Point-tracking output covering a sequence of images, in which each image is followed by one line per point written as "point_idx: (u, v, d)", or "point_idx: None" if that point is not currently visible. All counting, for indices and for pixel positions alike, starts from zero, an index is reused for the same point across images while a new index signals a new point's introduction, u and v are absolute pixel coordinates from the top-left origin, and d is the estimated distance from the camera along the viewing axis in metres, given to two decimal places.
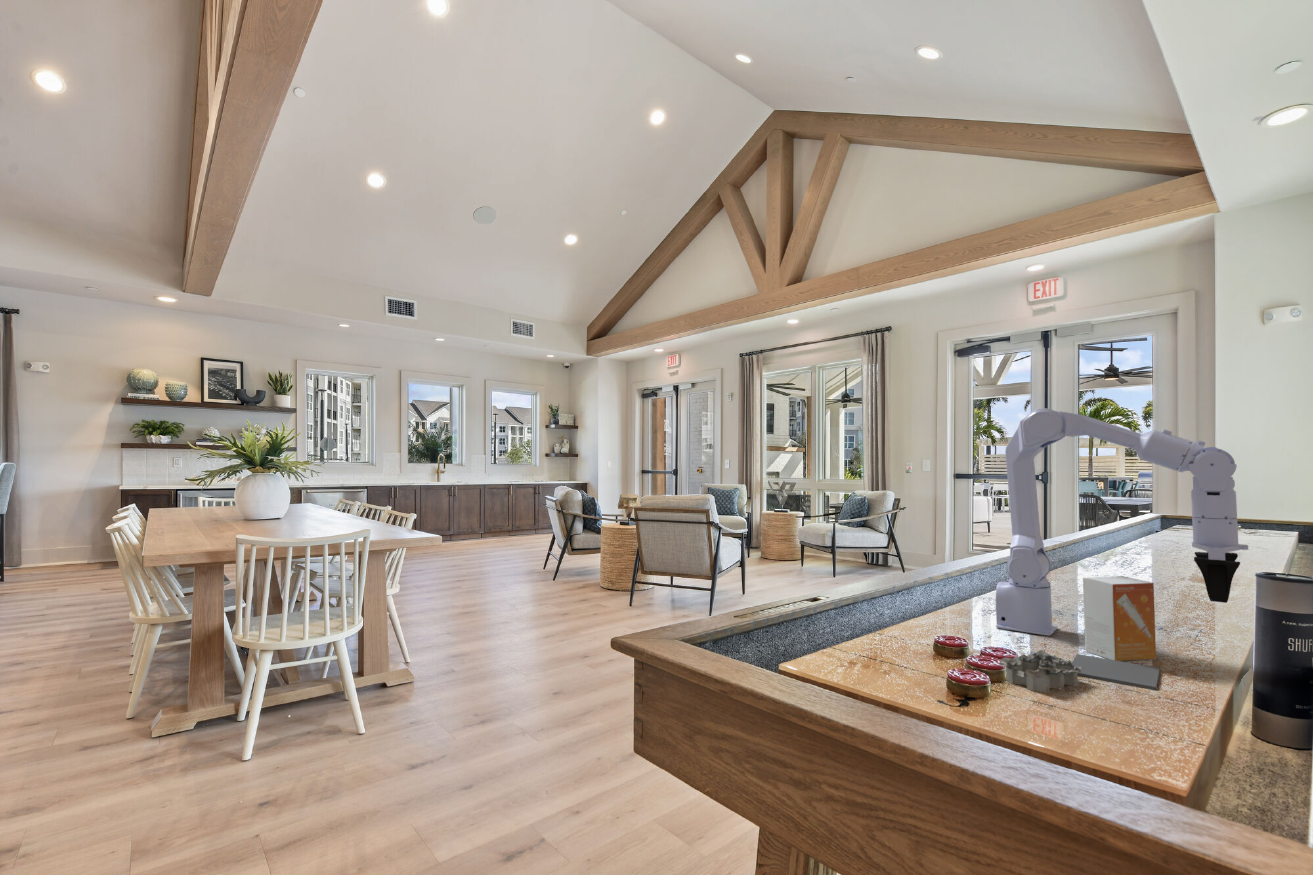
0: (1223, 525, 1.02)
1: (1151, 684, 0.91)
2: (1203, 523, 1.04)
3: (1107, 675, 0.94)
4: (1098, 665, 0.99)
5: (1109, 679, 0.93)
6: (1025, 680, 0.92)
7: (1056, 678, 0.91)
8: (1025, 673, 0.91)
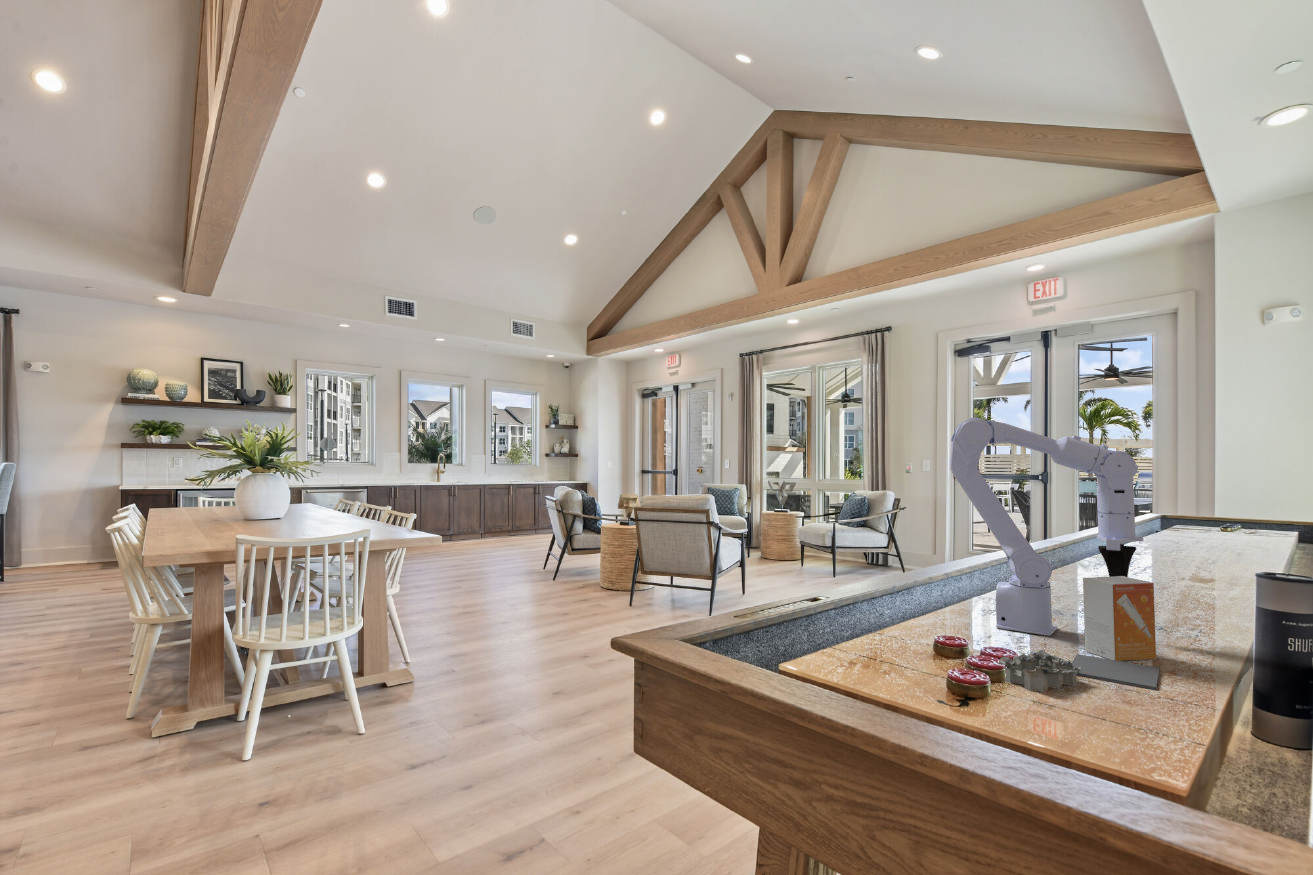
0: (1121, 519, 1.15)
1: (1151, 684, 0.91)
2: (1105, 518, 1.17)
3: (1107, 675, 0.94)
4: (1098, 665, 0.99)
5: (1109, 679, 0.93)
6: (1023, 679, 0.92)
7: (1054, 678, 0.91)
8: (1023, 672, 0.91)
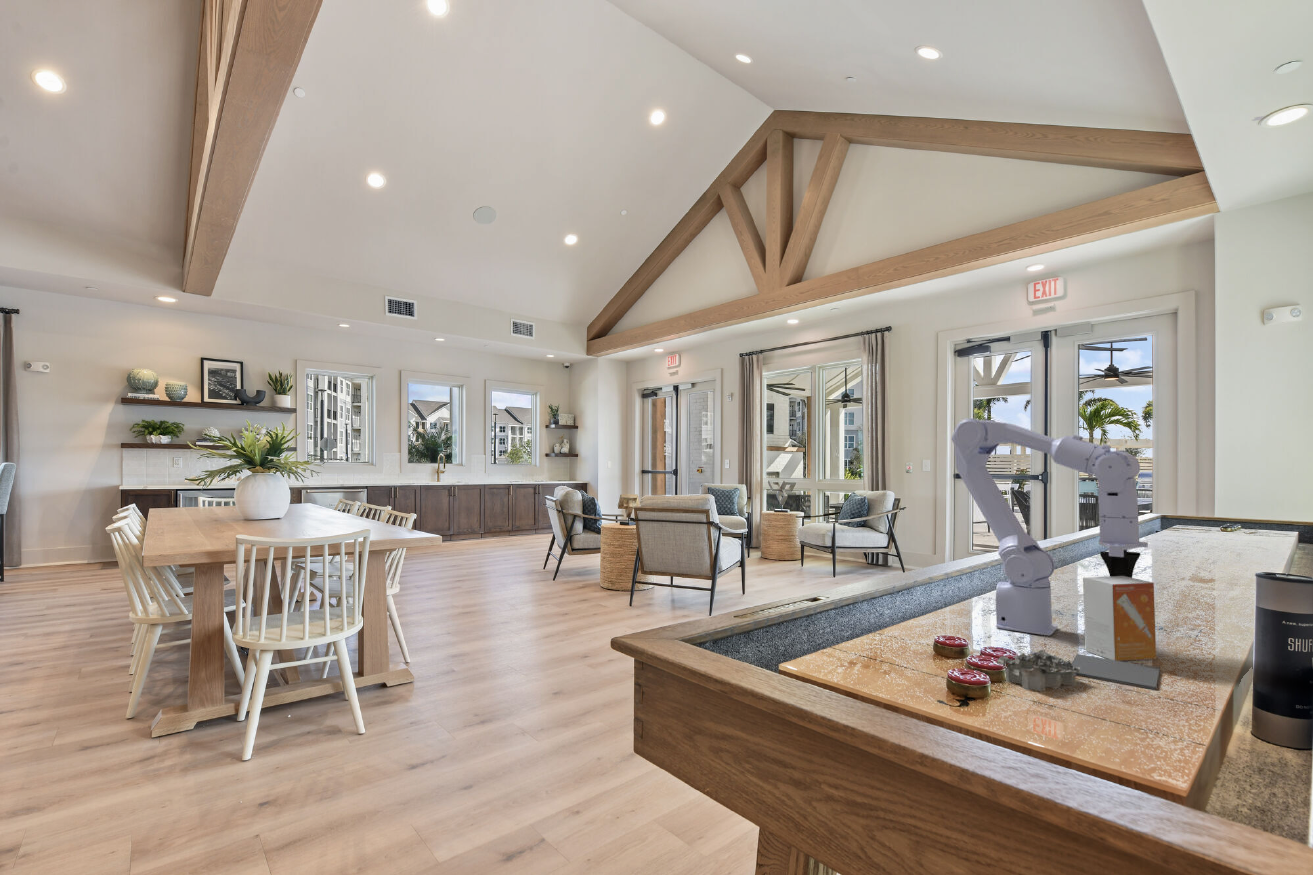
0: (1124, 524, 1.08)
1: (1151, 684, 0.91)
2: (1107, 522, 1.10)
3: (1107, 675, 0.94)
4: (1098, 665, 0.99)
5: (1109, 679, 0.93)
6: (1021, 678, 0.92)
7: (1052, 678, 0.91)
8: (1020, 672, 0.91)
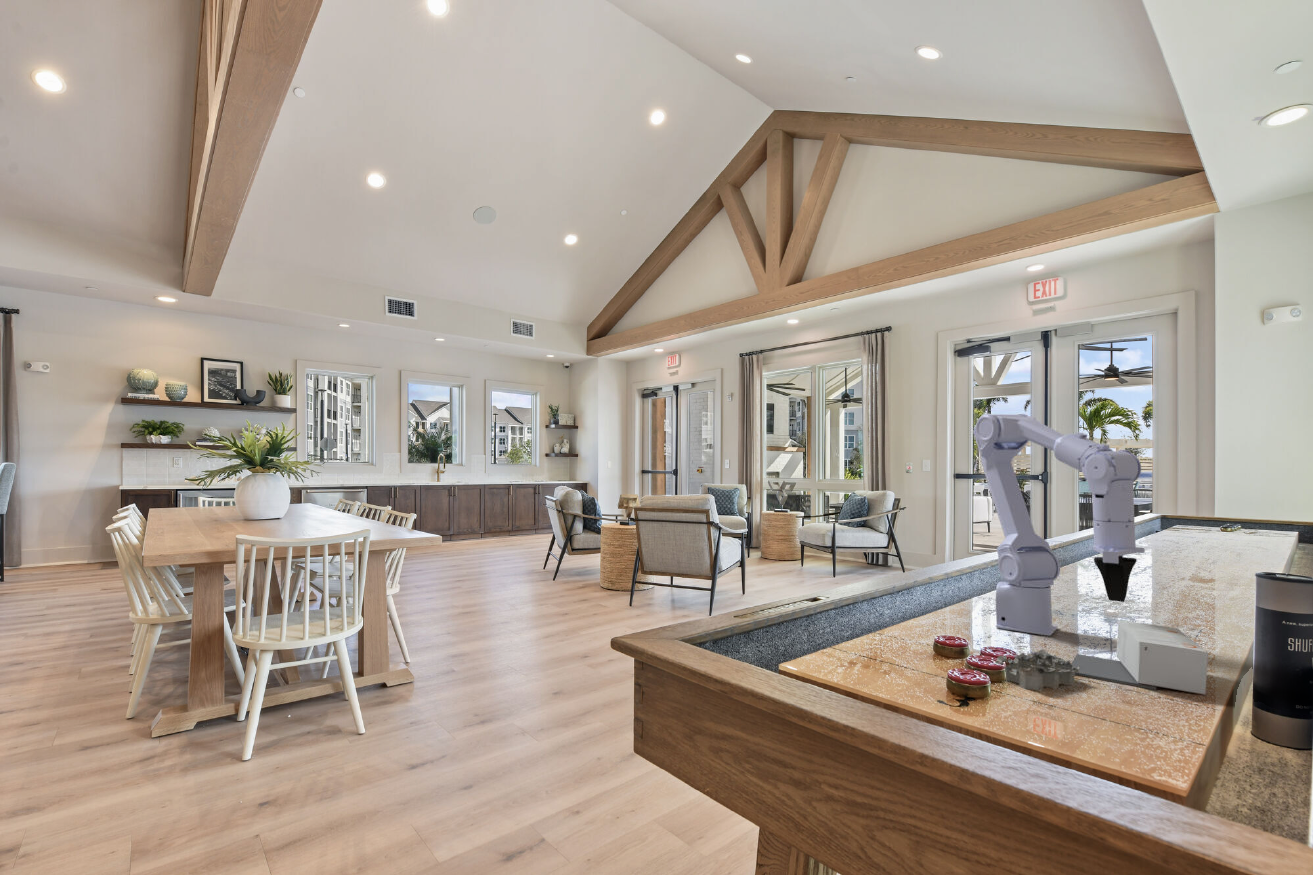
0: (1120, 528, 1.02)
1: None
2: (1101, 526, 1.04)
3: (1107, 675, 0.94)
4: (1098, 665, 0.99)
5: (1109, 679, 0.93)
6: (1019, 678, 0.93)
7: (1050, 677, 0.91)
8: (1018, 671, 0.92)
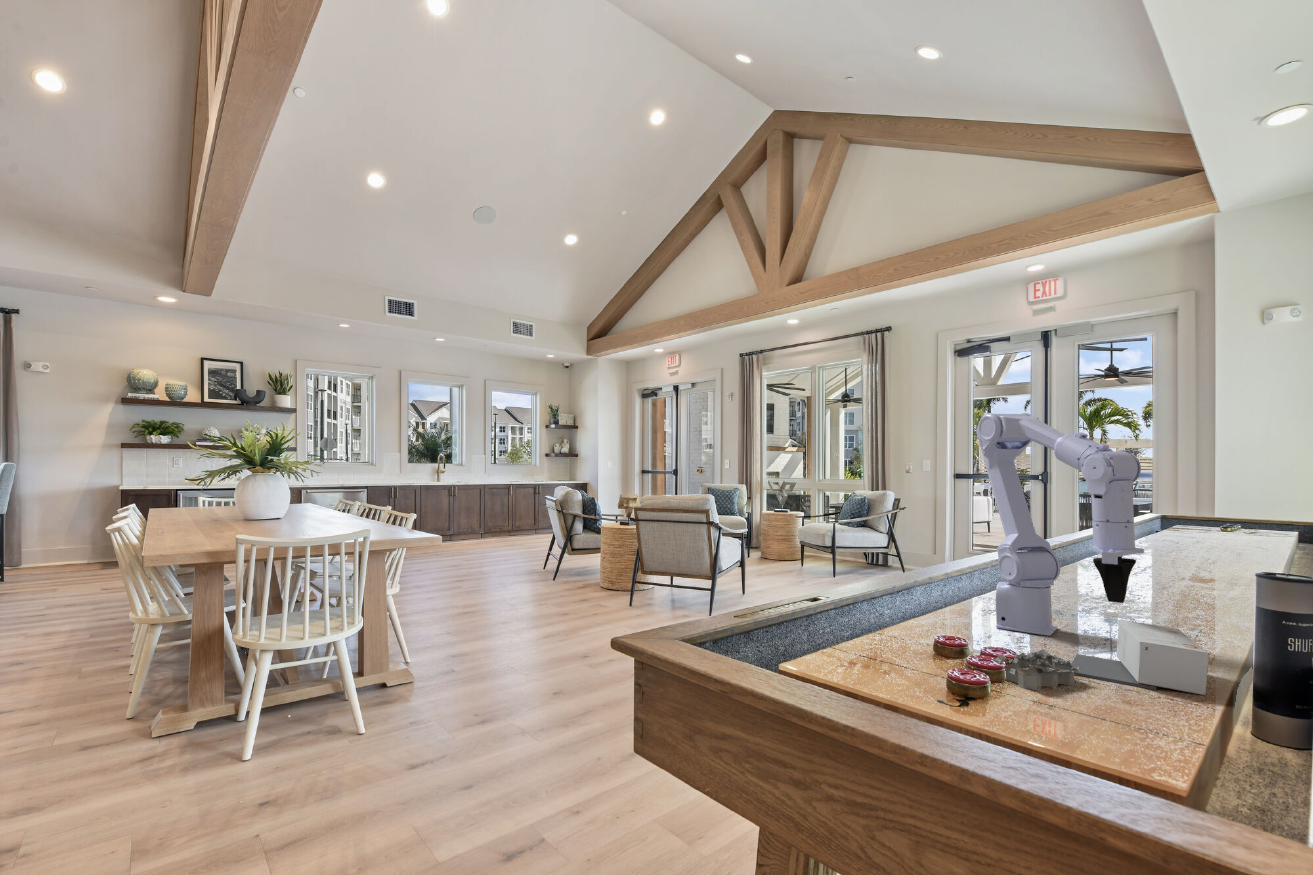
0: (1119, 529, 1.02)
1: None
2: (1101, 527, 1.03)
3: (1107, 675, 0.94)
4: (1098, 665, 0.99)
5: (1109, 679, 0.93)
6: (1018, 677, 0.93)
7: (1049, 677, 0.91)
8: (1016, 671, 0.92)
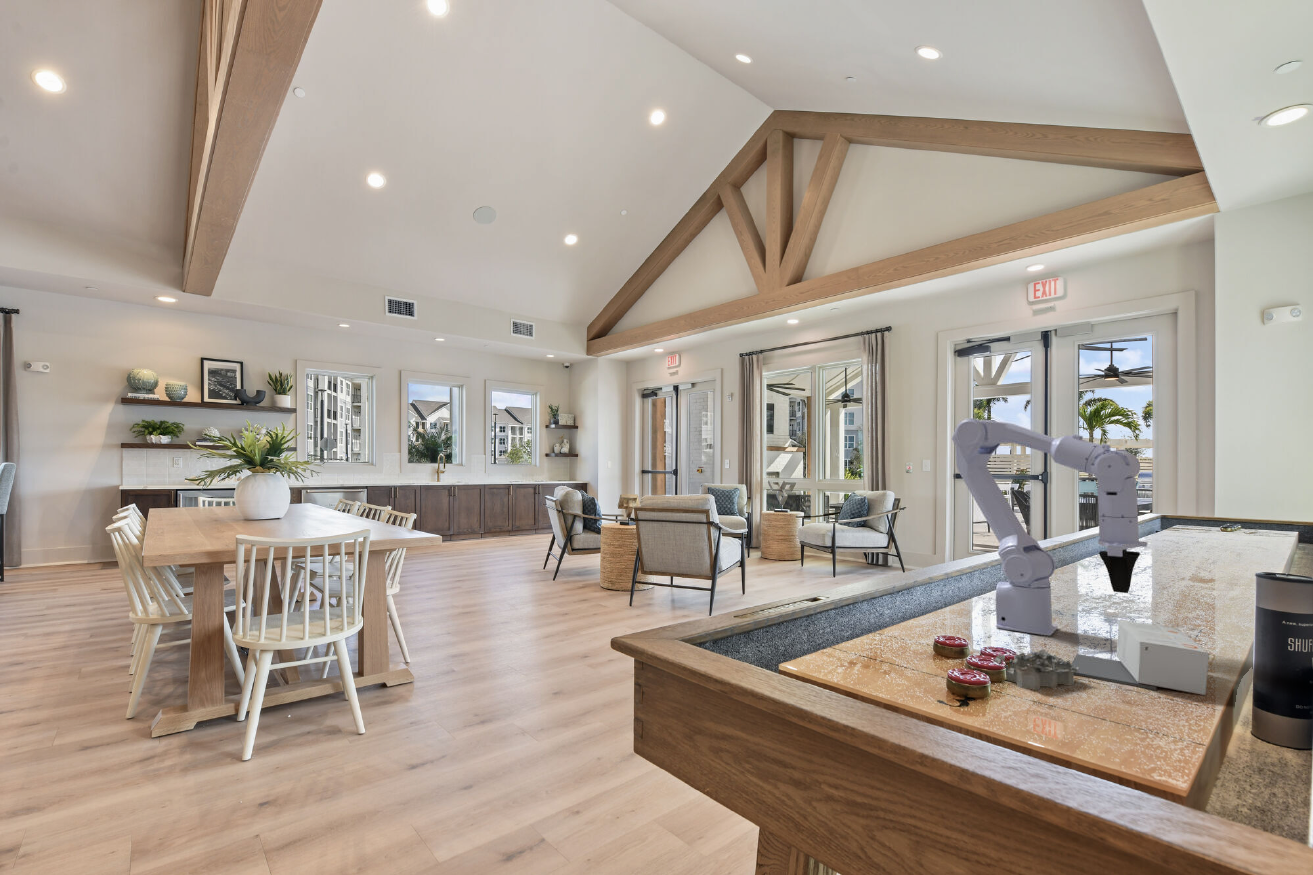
0: (1124, 523, 1.08)
1: None
2: (1106, 521, 1.10)
3: (1107, 675, 0.94)
4: (1098, 665, 0.99)
5: (1109, 679, 0.93)
6: (1017, 677, 0.93)
7: (1048, 677, 0.92)
8: (1015, 670, 0.92)
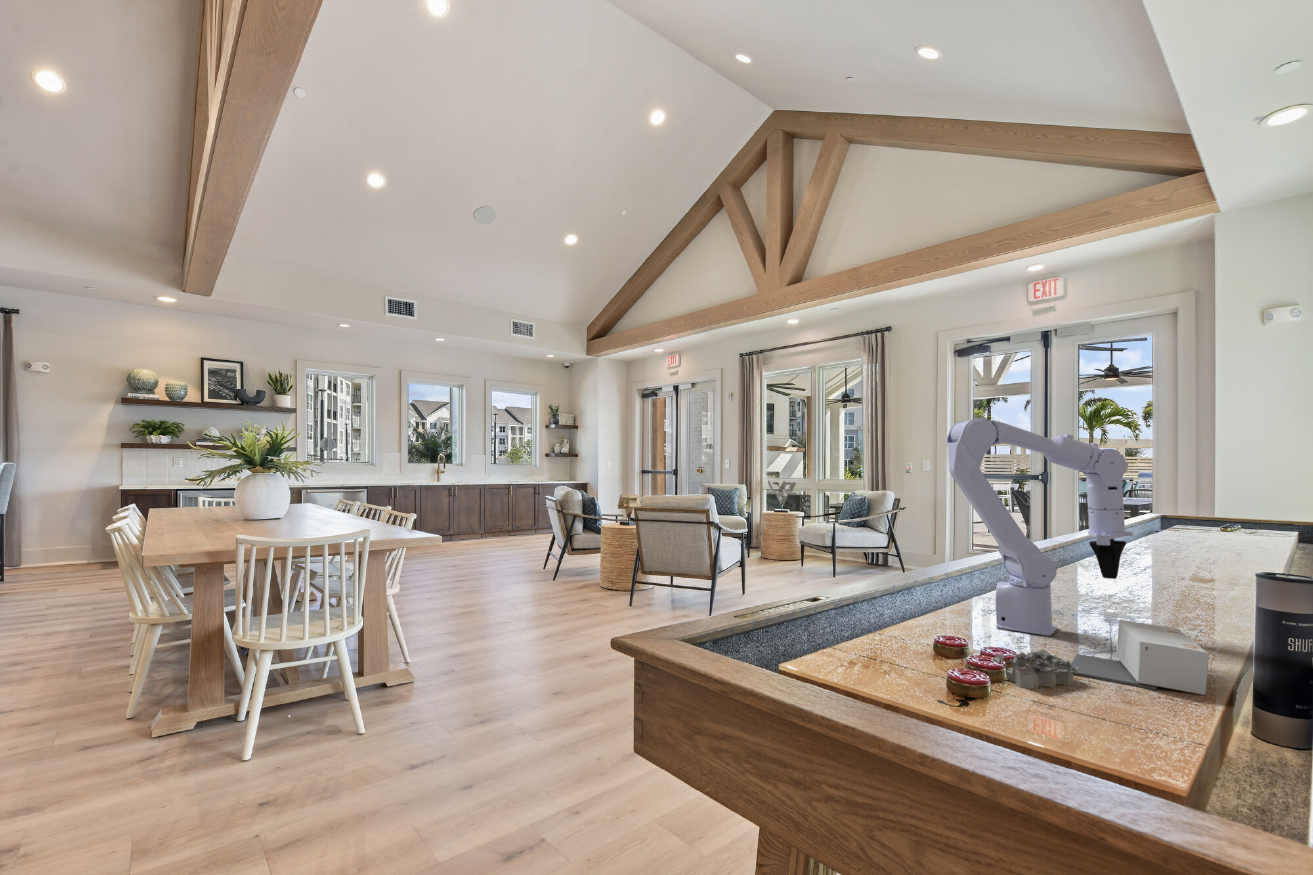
0: (1111, 515, 1.18)
1: None
2: (1095, 514, 1.20)
3: (1107, 675, 0.94)
4: (1098, 665, 0.99)
5: (1109, 679, 0.93)
6: (1016, 677, 0.93)
7: (1047, 677, 0.92)
8: (1014, 670, 0.92)
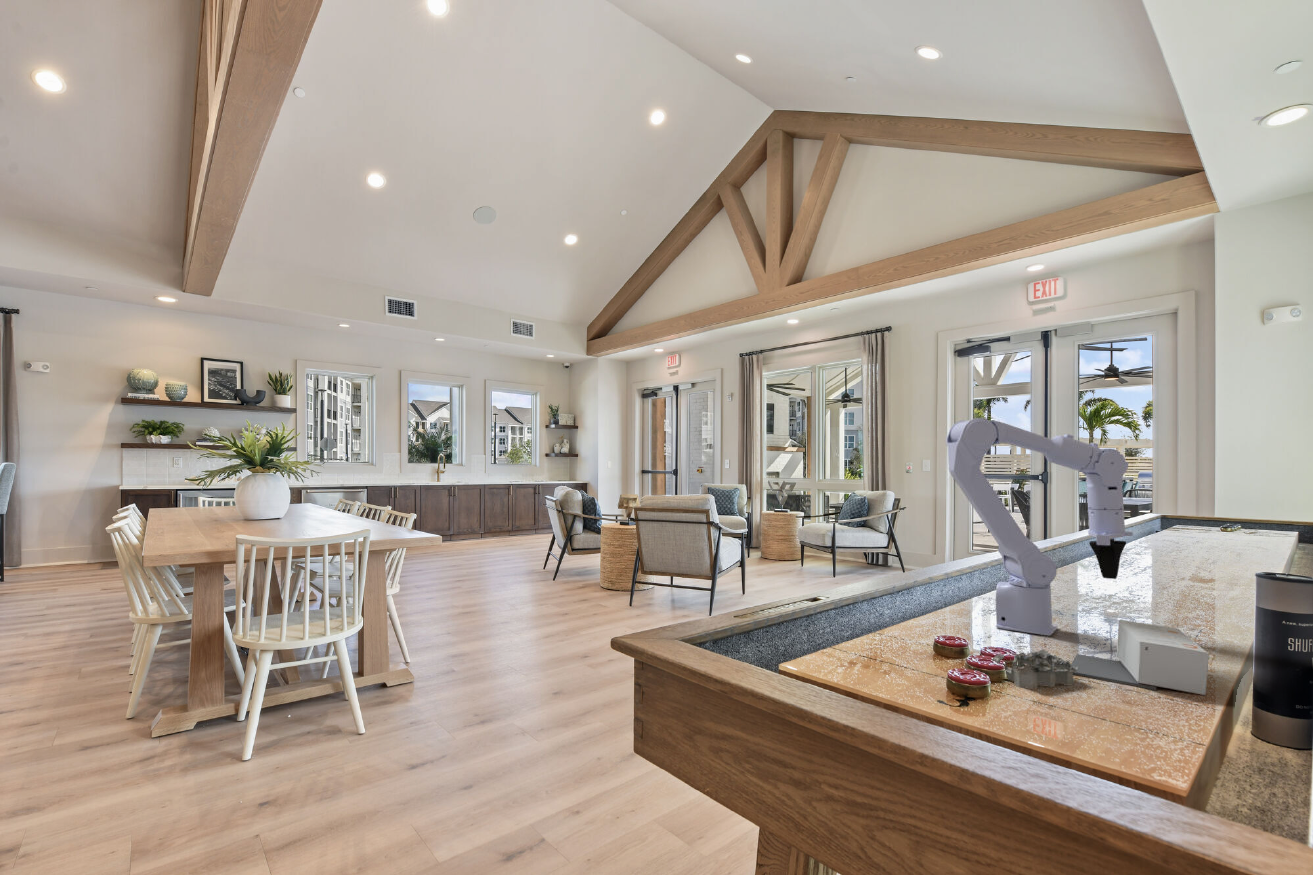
0: (1111, 515, 1.18)
1: None
2: (1095, 514, 1.20)
3: (1107, 675, 0.94)
4: (1098, 665, 0.99)
5: (1109, 679, 0.93)
6: None
7: (1046, 676, 0.92)
8: (1012, 669, 0.92)
